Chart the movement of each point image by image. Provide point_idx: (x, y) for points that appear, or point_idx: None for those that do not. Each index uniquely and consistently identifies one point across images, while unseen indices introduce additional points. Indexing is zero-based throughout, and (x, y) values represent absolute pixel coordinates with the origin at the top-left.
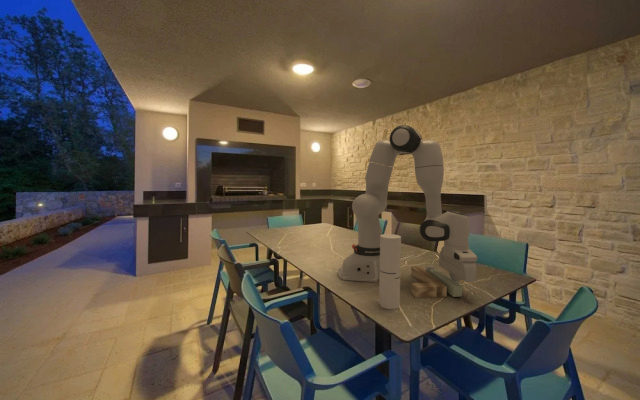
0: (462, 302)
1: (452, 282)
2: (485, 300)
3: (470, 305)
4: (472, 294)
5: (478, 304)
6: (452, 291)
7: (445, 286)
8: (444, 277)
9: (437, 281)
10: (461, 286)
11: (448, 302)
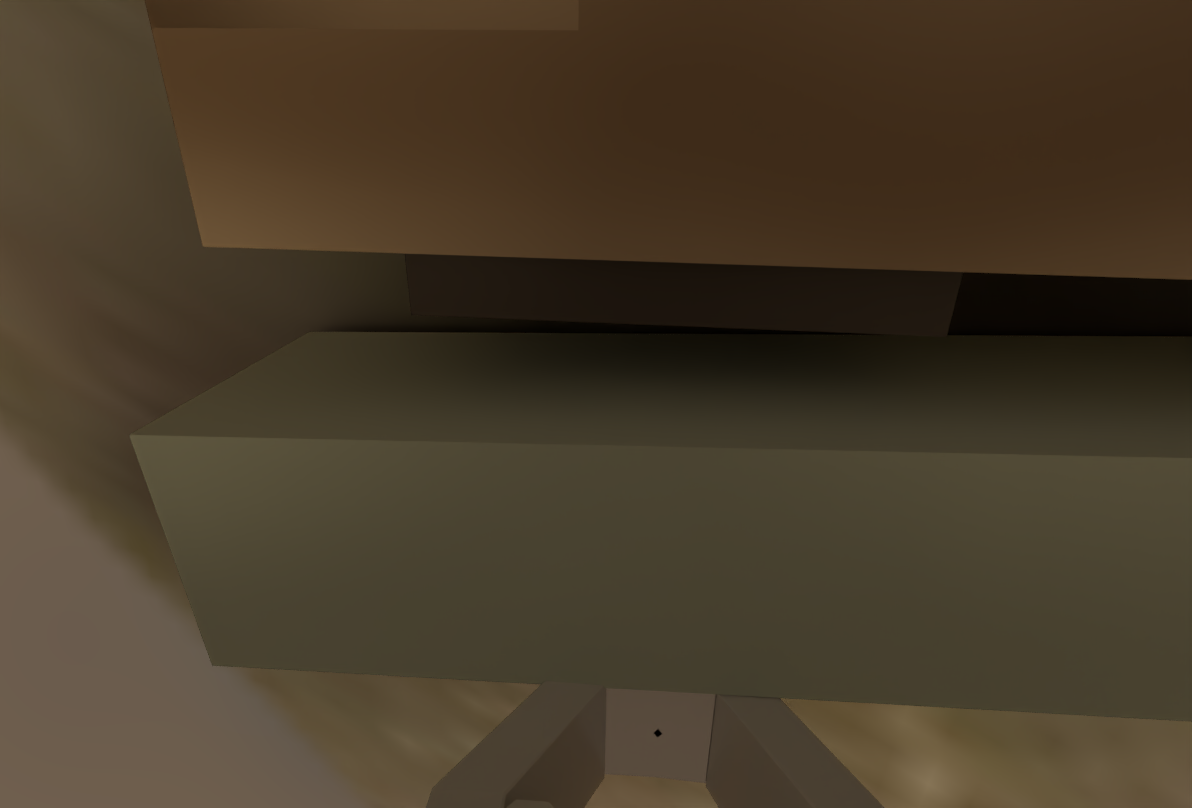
0: (160, 386)
1: (477, 586)
2: (305, 736)
3: (72, 447)
4: (503, 709)
5: (145, 580)
6: (288, 369)
7: (222, 210)
8: (944, 597)
9: (720, 163)
10: (210, 641)
11: (86, 88)
